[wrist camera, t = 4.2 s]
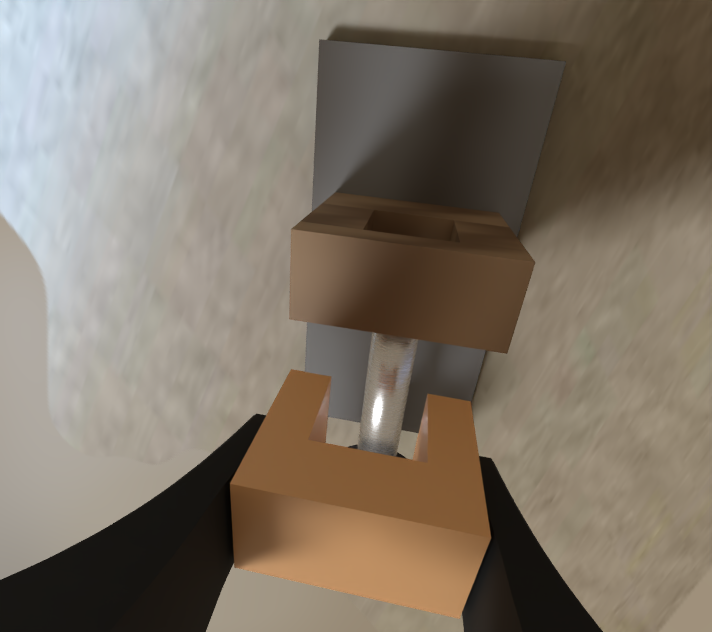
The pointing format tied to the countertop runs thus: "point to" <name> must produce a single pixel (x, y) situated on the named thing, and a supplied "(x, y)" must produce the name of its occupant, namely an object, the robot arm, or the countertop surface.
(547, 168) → the countertop surface
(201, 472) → the robot arm
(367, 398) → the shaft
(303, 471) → the block
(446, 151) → the bearing block
